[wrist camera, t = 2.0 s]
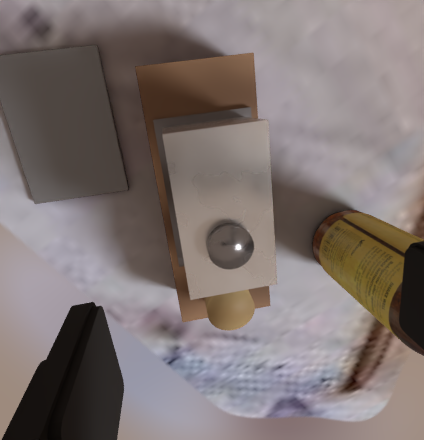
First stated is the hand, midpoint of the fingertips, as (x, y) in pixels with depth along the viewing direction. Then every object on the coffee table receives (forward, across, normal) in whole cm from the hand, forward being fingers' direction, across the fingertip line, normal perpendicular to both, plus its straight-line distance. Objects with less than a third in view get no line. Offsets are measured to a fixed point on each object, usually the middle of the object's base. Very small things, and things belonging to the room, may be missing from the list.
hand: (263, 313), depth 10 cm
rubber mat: (+17, +9, -6) cm, 20 cm away
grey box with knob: (+12, 0, -1) cm, 12 cm away
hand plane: (+17, 0, 0) cm, 17 cm away
